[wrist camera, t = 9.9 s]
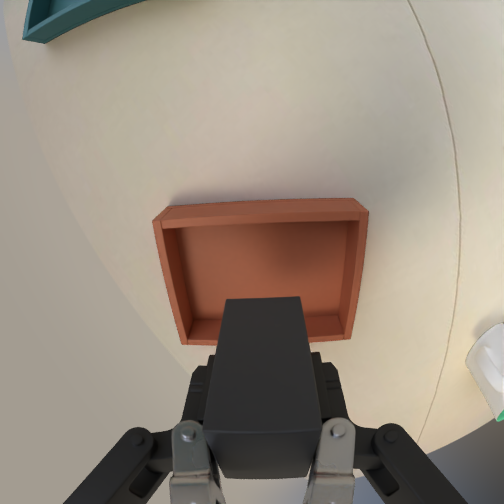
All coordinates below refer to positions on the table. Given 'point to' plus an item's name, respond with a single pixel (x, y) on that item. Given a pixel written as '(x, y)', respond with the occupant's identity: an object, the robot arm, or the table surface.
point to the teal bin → (64, 16)
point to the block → (263, 391)
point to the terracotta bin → (263, 261)
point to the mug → (489, 368)
